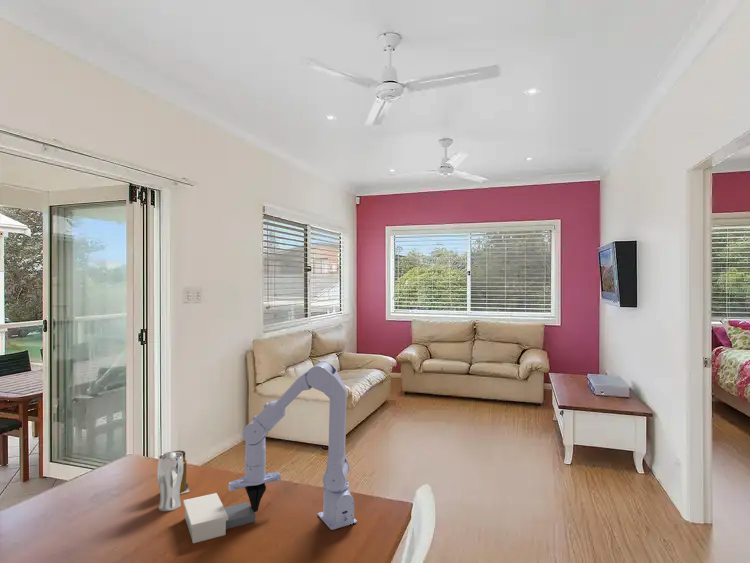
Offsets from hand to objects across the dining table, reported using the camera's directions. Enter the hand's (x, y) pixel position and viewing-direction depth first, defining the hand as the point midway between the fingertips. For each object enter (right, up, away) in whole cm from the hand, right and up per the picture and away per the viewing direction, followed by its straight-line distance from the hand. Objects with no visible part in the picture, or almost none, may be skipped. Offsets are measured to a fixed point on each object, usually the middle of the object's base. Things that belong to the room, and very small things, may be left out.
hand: (254, 510), depth 127 cm
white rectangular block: (-12, -1, -7) cm, 14 cm away
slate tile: (-7, -1, -4) cm, 8 cm away
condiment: (-29, -1, +15) cm, 33 cm away
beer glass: (-26, -1, +4) cm, 26 cm away
